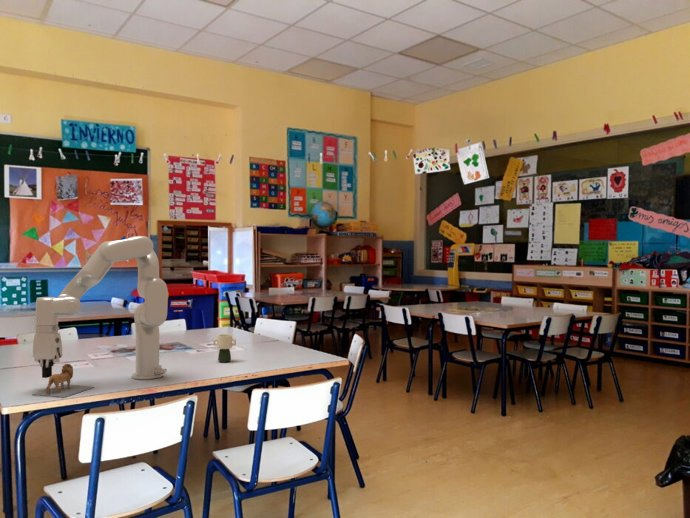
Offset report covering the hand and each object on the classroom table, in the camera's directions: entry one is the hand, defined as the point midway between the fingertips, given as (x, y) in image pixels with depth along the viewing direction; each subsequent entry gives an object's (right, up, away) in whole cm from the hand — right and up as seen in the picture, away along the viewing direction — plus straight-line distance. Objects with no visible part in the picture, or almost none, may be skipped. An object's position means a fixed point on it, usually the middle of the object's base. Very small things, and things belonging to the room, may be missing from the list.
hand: (46, 377), depth 216 cm
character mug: (+56, -5, +57) cm, 80 cm away
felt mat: (+8, -5, -2) cm, 9 cm away
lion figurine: (+6, -5, -2) cm, 8 cm away
